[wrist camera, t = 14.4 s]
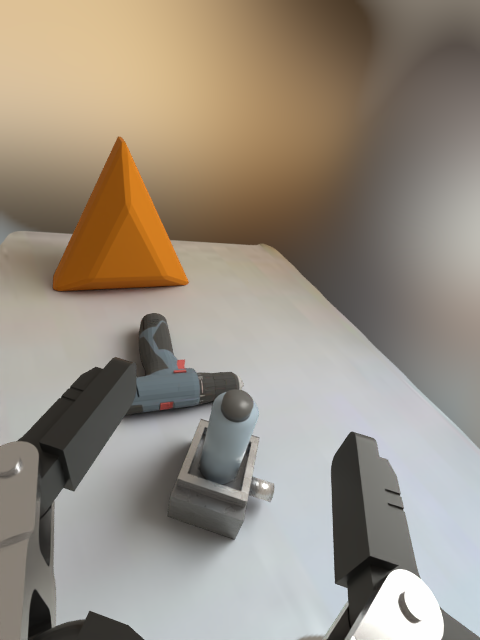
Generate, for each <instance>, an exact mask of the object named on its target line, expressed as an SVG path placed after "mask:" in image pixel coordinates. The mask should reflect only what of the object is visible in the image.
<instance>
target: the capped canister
mask: <svg viewBox="0 0 480 640" xmlns="http://www.w3.org/2000/svg"><path fill="white" fill-rule="evenodd" d="M258 416H259V411H258V407H257V405H256V403H255V402H254V401H253V399H252V398H251V396H250V395H249V394H248V393H246V392H245V391H242V390H238V389H233V390H230V391H228V392H224V393H222V394H220V395H219V396H218V397H217V398H216V399H215V400H214V403H213V406H212V411H211V415H210V419H209V424H208V428H207V432H206V437H205V441H204V445H203V450H202V454H201V458H200V470H201V472H202V474H203V476H204V477H205V478H206V479H207V480H209V481H212V482H215V483H218V484H226V483H229V482H230V481H232V480H233V479H234V478H235V477H236V475H237V473H238V470H239V468H240V465H241V462H242V460H243V457H244V454H245V452H246V449H247V446H248V444H249V441H250V438H251V435H252V433H253V430H254V427H255V425H256V422H257V419H258Z"/></svg>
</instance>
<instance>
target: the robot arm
mask: <svg viewBox="0 0 480 640" xmlns="http://www.w3.org/2000/svg"><path fill="white" fill-rule="evenodd" d="M135 395H136V364H135V363H133V362H129V361H126V360H123V359H120V358H117V357H115V358H113V359H112V360H111V361H110V362H109V363H108V364H107V365H106V366H105V367H104V369H101V368H98V367H95V368H93V369H91V370H89V371H88V372H86V373H84V374H82V375H81V376H80V377H79V378H78V379H77V380H76V381H75V382H74V383H73V384H72V385H71V387H70V389H68V390H67V391H66V392H65V393H64V394H63V395H62V397H61V398H59V399H58V400H57V401H56V402H55V403H54V404H53V405H52V406H51V408H50V409H49V410H48V411H47V412H46V413H45V414H44V415H43V416H42V417H41V418H40V419H39V420H38V421H37V422H36V423H35V424H34V425H33V427H32V428H31V429H30V430H29V431H28V432H27V433H26V434H25V435H24V436H23V437H22V438H20V439H19V440H18V441H16V442H11V443H7V444H4V445H2V446H0V640H144V639H143V638H142V637H141V636H140V635H138V634H137V633H136V632H135V631H134V630H133V629H132V628H131V627H130V626H129V625H126V624H123V623H121V622H118V621H115V620H113V619H110V618H107V617H105V616H102V615H99V614H97V613H94V612H91V611H89V613H88V615H87V617H86V620H76V621H71V622H67V623H64V624H61V625H58V626H56V586H55V578H54V567H53V559H54V506H55V501H54V500H55V499H56V497H57V496H58V494H59V493H60V491H61V490H62V489H63V488H66V489H69V490H72V491H75V489H76V488H77V486H78V485H79V483H80V482H81V480H82V479H83V477H84V476H85V474H86V473H87V471H88V470H89V468H90V467H91V465H92V464H93V462H94V461H95V459H96V458H97V456H98V455H99V453H100V452H101V450H102V449H103V447H104V446H105V444H106V443H107V441H108V440H109V438H110V437H111V435H112V434H113V432H114V431H115V429H116V428H117V426H118V425H119V423H120V422H121V420H122V419H123V417H124V416H125V414H126V413H127V411H128V410H129V408H130V407H131V405H132V403H133V401H134V398H135ZM331 485H332V513H333V542H334V570H335V584H337V585H340V586H343V587H346V588H348V602H347V603H346V604H345V605H344V607H343V609H342V610H341V612H340V613H339V615H338V616H337V618H336V619H335V621H334V623H333V624H332V626H331V627H330V629H329V630H328V632H327V633H326V635H325V636H324V638H323V640H480V637H478V636H477V635H476V634H474V633H473V632H471V631H470V630H469V629H467V628H466V627H465V626H463V625H462V624H461V623H459V622H458V621H457V620H455V619H454V618H452V617H451V616H450V615H448V614H447V613H446V612H445V611H444V610H443V609H441V608H440V607H439V605H438V603H437V601H436V599H435V597H434V596H433V594H432V592H431V591H430V590H429V588H428V587H427V586H426V585H425V584H424V582H423V581H422V580H421V578H420V576H419V573H418V569H417V566H416V561H415V557H414V552H413V548H412V543H411V539H410V534H409V529H408V525H407V520H406V516H405V512H404V511H403V508H404V507H403V502H402V498H401V497H400V494H401V493H400V489H399V484H398V480H397V476H396V474H395V472H394V471H393V469H392V467H391V465H390V463H389V462H388V460H387V459H384V458H381V457H379V453H378V447H377V443H376V440H375V439H374V438H371V437H368V436H365V435H361V434H358V433H355V432H350V433H349V435H348V436H347V438H346V439H345V440H344V442H343V443H342V445H341V446H340V448H339V449H338V451H337V452H336V454H335V455H334V458H333V461H332V466H331Z"/></svg>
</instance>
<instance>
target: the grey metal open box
mask: <svg viewBox="0 0 480 640" xmlns="http://www.w3.org/2000/svg"><path fill="white" fill-rule="evenodd" d="M208 424H209V421H206V420H203V419H201V420H200V423H199V425H198V428H197V430H196V433H195V435H194V438H193V440H192V443H191V445H190V448H189V450H188V453H187V455H186V458H185V460H184V463H183V465H182V468H181V470H180V473H179V475H178V478H177V480H176V483H175V485H174V488H173V490H172V493H171V495H170V501H169V509H168V517H171V518H174V519H177V520H180V521H183V522H185V523H188V524H191V525H194V526H197V527H200V528H203V529H206V530H209V531H212V532H214V533H217V534H220V535H223V536H226V537H229V538H232V539H235V538H236V536H237V534H238V532H239V530H240V528H241V526H242V523H243V521H244V517H245V511H246V506H247V501H248V496H249V495H250V496H253V497H256V498H259V499H262V500H265V501H268V502H271V500H272V497H273V493H274V484H273V483H270V482H267V481H264V480H261V479H258V478H255V477H252V474H253V469H254V464H255V459H256V453H257V448H258V443H259V437H256V436H253V435H251V438H250V441H249V444H248V446H247V449H246V452H245V454H244V457H243V460H242V462H241V465H240V468H239V470H238V473H237V475H236V477H235V478H234V479H233V480H232V481H230V482H229V483H226V484H218V483H215V482H212V481H209V480H207V479H206V478H205V477H204V476H203V474H202V472H201V470H200V458H201V454H202V450H203V445H204V441H205V437H206V432H207V428H208Z"/></svg>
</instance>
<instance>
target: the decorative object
mask: <svg viewBox="0 0 480 640" xmlns="http://www.w3.org/2000/svg"><path fill="white" fill-rule="evenodd" d="M188 283H189V282H188V279H187V277H186V275H185V273H184V271H183V268H182V266H181V264H180V262H179V260H178V257H177V255H176V253H175V251H174V248H173V246H172V244H171V242H170V240H169V237H168V235H167V233H166V231H165V229H164V227H163V224H162V222H161V220H160V218H159V215H158V213H157V211H156V209H155V207H154V204H153V202H152V200H151V198H150V196H149V194H148V191H147V189H146V187H145V185H144V182H143V180H142V178H141V176H140V174H139V171H138V169H137V167H136V165H135V163H134V160H133V158H132V156H131V154H130V151H129V149H128V147H127V145H126V143H125V141H124V140H123V139H122V138H121V137H118V138H117V140H116V142H115V144H114V146H113V149H112V151H111V153H110V155H109V157H108V159H107V162H106V164H105V166H104V168H103V170H102V172H101V174H100V177H99V179H98V181H97V183H96V185H95V187H94V190H93V192H92V194H91V196H90V198H89V200H88V203H87V205H86V207H85V209H84V211H83V213H82V216H81V218H80V220H79V222H78V224H77V226H76V229H75V231H74V233H73V235H72V237H71V239H70V241H69V243H68V246H67V248H66V250H65V252H64V254H63V256H62V259H61V261H60V263H59V265H58V267H57V269H56V272H55V274H54V276H53V289H54V290H57V291H73V290H94V289H114V288H135V287H155V286H176V285H186V284H188Z"/></svg>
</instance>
